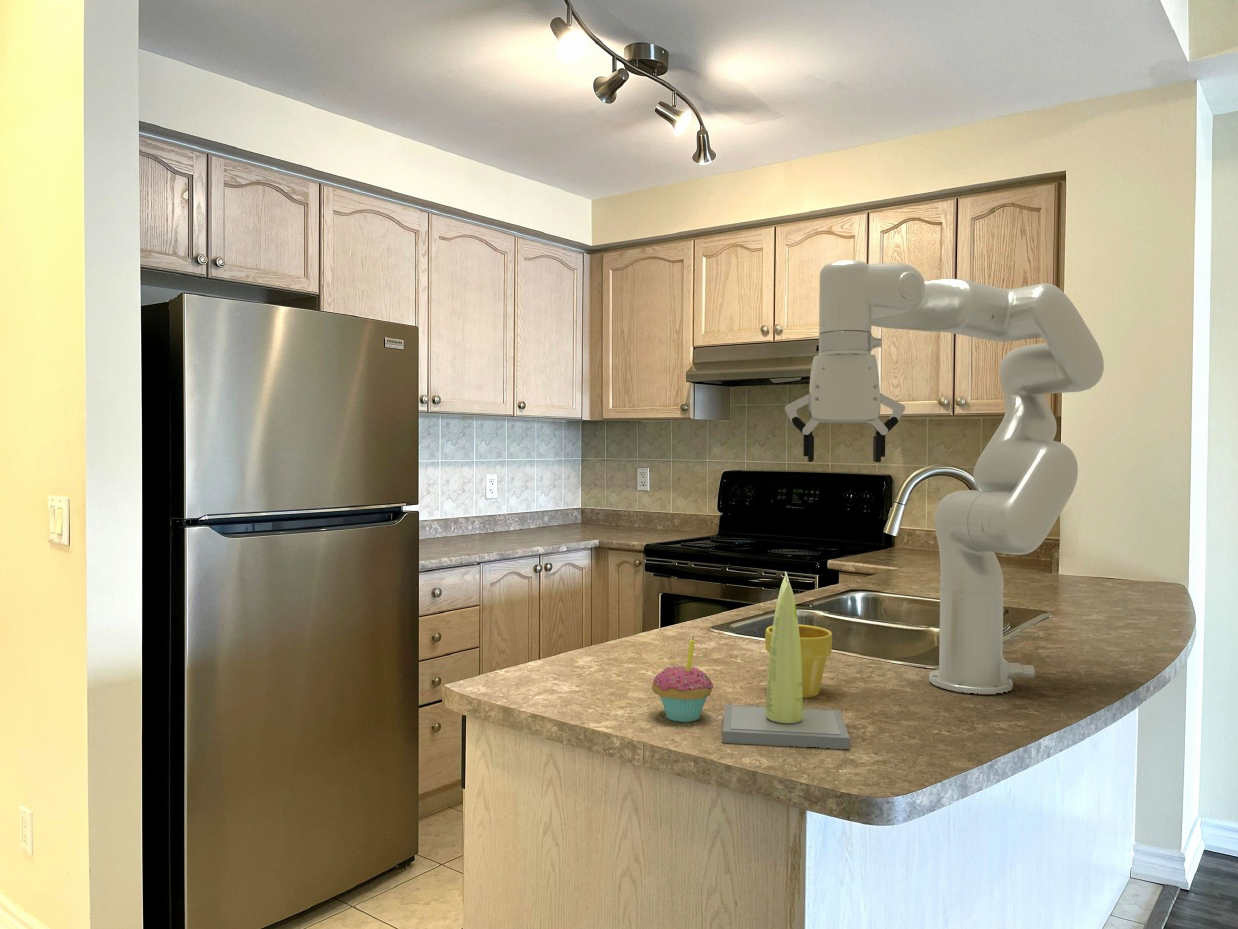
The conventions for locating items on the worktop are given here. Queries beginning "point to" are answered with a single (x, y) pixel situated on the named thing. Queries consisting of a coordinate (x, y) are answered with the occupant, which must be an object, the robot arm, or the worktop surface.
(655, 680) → the cupcake
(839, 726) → the grey flat block
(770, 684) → the tube
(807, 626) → the plant pot
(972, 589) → the robot arm
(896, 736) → the worktop surface
